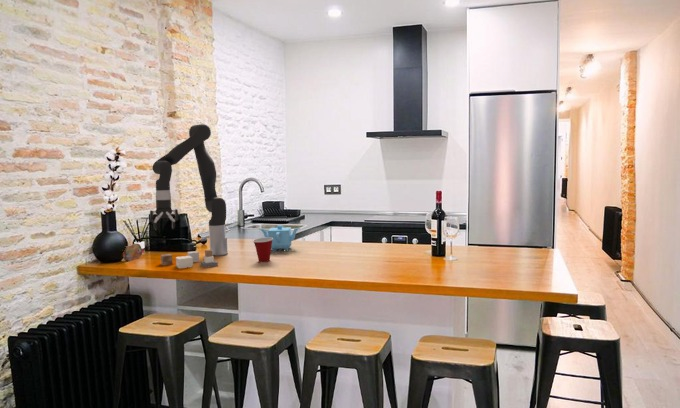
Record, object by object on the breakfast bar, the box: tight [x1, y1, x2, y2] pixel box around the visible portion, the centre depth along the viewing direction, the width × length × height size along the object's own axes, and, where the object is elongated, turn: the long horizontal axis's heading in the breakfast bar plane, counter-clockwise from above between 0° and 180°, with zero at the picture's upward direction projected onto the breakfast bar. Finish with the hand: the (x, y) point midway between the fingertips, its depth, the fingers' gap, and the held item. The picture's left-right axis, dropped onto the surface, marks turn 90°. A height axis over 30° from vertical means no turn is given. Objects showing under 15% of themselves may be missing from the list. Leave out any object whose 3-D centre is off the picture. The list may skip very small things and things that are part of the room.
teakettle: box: [259, 224, 301, 252], centre depth 306 cm, size 19×19×15 cm
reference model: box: [200, 249, 219, 269], centre depth 263 cm, size 7×7×8 cm
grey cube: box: [187, 250, 200, 263], centre depth 277 cm, size 5×5×5 cm
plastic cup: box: [252, 236, 273, 263], centre depth 272 cm, size 11×11×12 cm
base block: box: [175, 255, 194, 270], centre depth 263 cm, size 7×7×5 cm
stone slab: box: [122, 243, 143, 262], centre depth 287 cm, size 15×3×8 cm, turn 168°
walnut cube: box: [160, 253, 173, 266], centre depth 271 cm, size 5×5×5 cm
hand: (164, 229), depth 269 cm, fingers open, 8 cm apart
